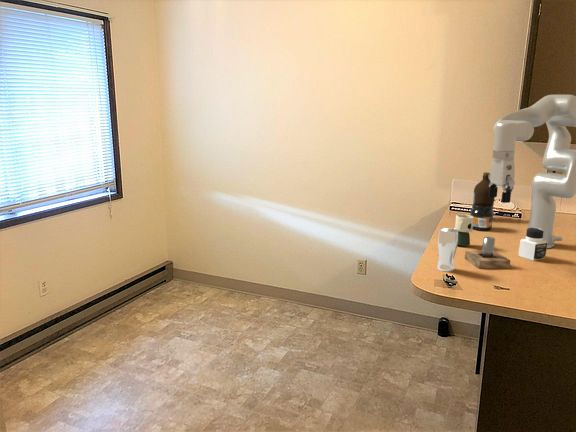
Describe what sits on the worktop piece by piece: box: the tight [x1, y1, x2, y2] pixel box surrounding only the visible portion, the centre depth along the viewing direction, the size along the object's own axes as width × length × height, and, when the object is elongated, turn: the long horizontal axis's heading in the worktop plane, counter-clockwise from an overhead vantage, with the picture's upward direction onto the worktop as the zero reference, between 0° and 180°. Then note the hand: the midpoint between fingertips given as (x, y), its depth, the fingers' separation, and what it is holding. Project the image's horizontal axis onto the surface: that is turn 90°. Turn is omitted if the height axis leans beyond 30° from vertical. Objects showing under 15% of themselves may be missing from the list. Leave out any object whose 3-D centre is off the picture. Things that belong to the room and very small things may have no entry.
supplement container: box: [469, 203, 494, 232], centre depth 243 cm, size 10×10×12 cm
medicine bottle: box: [518, 227, 548, 262], centre depth 198 cm, size 7×7×12 cm
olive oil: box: [472, 171, 496, 212], centre depth 261 cm, size 11×11×25 cm
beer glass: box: [436, 227, 458, 273], centre depth 182 cm, size 7×7×15 cm
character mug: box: [454, 214, 474, 247], centre depth 213 cm, size 11×7×13 cm, turn 145°
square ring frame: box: [464, 250, 511, 269], centre depth 191 cm, size 12×12×3 cm
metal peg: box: [481, 236, 496, 258], centre depth 190 cm, size 4×4×10 cm
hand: (498, 199), depth 191 cm, fingers open, 9 cm apart
